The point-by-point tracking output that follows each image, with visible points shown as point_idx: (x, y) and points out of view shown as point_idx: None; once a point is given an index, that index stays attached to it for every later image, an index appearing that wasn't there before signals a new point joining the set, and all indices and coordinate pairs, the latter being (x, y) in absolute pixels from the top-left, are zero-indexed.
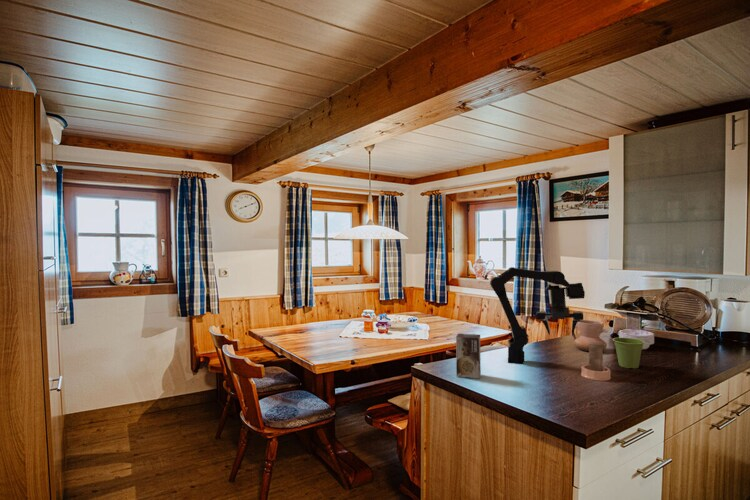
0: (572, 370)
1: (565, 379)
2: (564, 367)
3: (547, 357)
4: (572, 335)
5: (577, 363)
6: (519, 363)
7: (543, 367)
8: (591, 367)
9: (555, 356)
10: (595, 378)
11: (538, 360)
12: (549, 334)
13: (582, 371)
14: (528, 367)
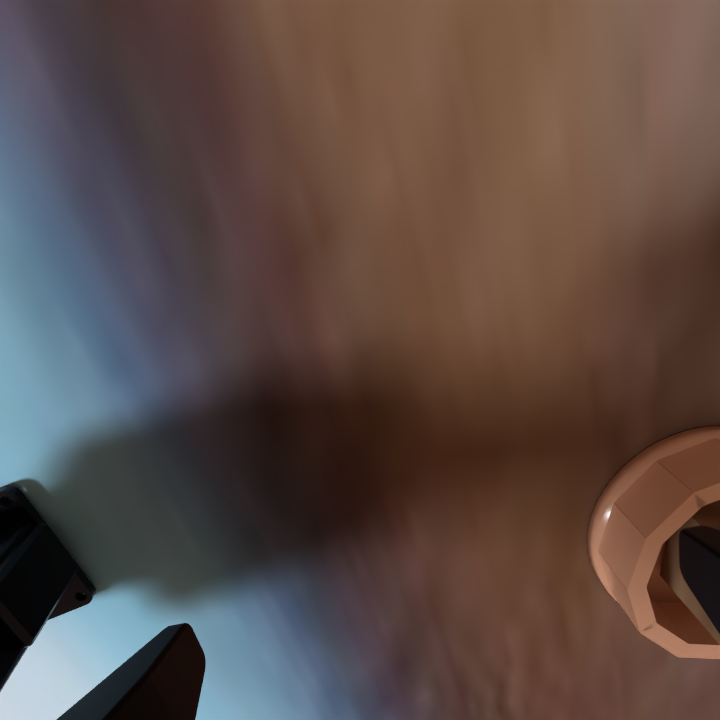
0: (508, 483)
1: (508, 707)
2: (427, 440)
3: (136, 157)
4: (693, 574)
5: (504, 197)
6: (68, 606)
7: (279, 559)
8: None
9: (188, 16)
10: None
11: (129, 369)
12: (197, 679)
13: (620, 603)
14: None
